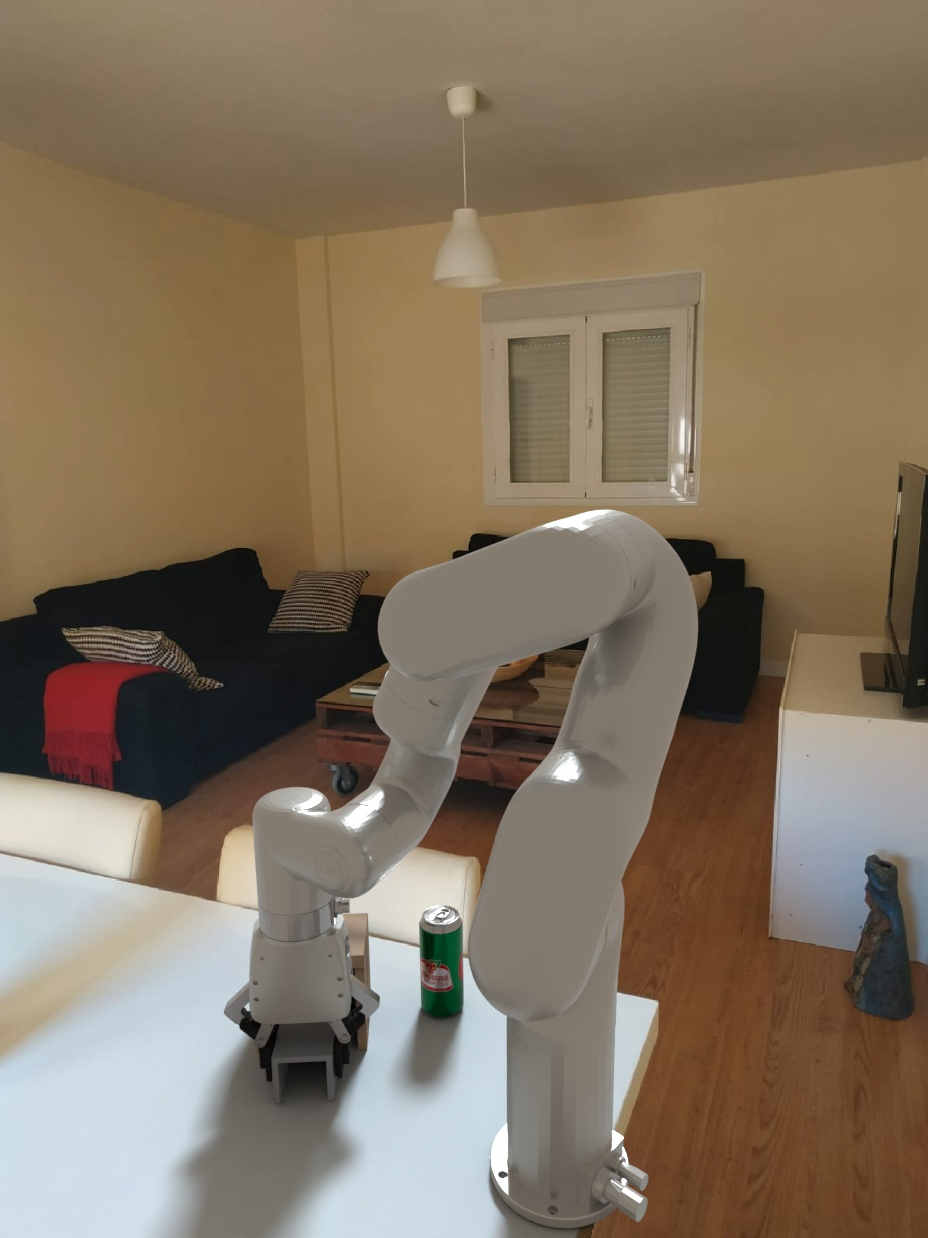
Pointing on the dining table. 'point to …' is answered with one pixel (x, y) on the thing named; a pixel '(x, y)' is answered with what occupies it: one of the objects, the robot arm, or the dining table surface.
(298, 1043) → the grey u-shaped piece
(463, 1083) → the dining table surface
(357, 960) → the shelf
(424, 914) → the soda can
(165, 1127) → the dining table surface
